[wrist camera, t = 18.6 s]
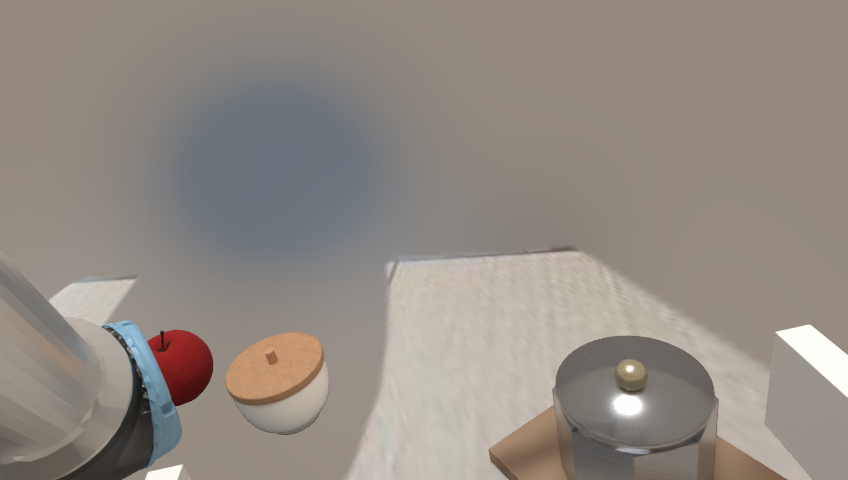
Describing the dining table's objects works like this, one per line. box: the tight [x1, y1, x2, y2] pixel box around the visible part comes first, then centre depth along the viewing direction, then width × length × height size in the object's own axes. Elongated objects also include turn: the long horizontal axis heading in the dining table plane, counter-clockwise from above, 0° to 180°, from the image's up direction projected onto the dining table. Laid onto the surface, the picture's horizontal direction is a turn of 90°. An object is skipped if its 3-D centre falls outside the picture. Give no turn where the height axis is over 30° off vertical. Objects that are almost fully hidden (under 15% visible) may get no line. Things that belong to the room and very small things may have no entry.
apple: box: [147, 330, 213, 406], centre depth 69 cm, size 9×9×10 cm
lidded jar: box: [225, 332, 330, 435], centre depth 62 cm, size 11×11×9 cm
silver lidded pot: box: [552, 336, 719, 480], centre depth 45 cm, size 11×11×12 cm
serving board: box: [489, 405, 787, 480], centre depth 48 cm, size 20×16×2 cm
